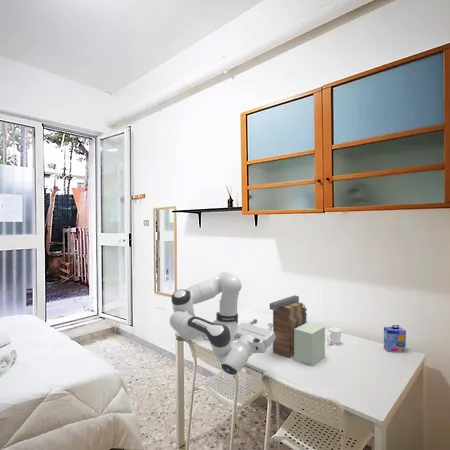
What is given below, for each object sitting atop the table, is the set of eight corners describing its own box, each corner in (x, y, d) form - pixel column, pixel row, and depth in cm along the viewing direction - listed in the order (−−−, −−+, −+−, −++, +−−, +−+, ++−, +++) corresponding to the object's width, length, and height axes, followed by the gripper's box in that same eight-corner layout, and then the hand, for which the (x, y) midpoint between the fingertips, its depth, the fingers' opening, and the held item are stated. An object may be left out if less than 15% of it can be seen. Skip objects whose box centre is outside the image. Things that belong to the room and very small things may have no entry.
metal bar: (274, 310, 153) (274, 304, 153) (269, 309, 155) (269, 303, 155) (298, 301, 170) (298, 296, 170) (294, 300, 172) (294, 295, 172)
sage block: (312, 366, 147) (312, 333, 147) (294, 360, 154) (294, 328, 154) (324, 357, 157) (324, 326, 157) (307, 351, 164) (307, 322, 164)
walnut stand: (289, 358, 156) (288, 308, 156) (273, 352, 163) (273, 304, 163) (302, 349, 166) (302, 303, 166) (287, 344, 173) (287, 300, 173)
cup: (344, 344, 174) (344, 330, 174) (332, 347, 169) (332, 333, 169) (334, 340, 181) (334, 326, 180) (322, 343, 175) (322, 329, 175)
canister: (306, 330, 198) (306, 303, 198) (286, 328, 202) (286, 301, 201) (307, 323, 210) (306, 298, 210) (288, 322, 214) (288, 297, 214)
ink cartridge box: (387, 352, 163) (387, 325, 163) (383, 348, 169) (382, 322, 169) (406, 352, 163) (406, 326, 163) (401, 348, 168) (401, 322, 168)
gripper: (233, 341, 148) (249, 322, 157) (267, 354, 134) (282, 331, 143) (229, 332, 146) (245, 312, 154) (263, 344, 132) (278, 321, 140)
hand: (263, 322), depth 148 cm, fingers open, 8 cm apart
